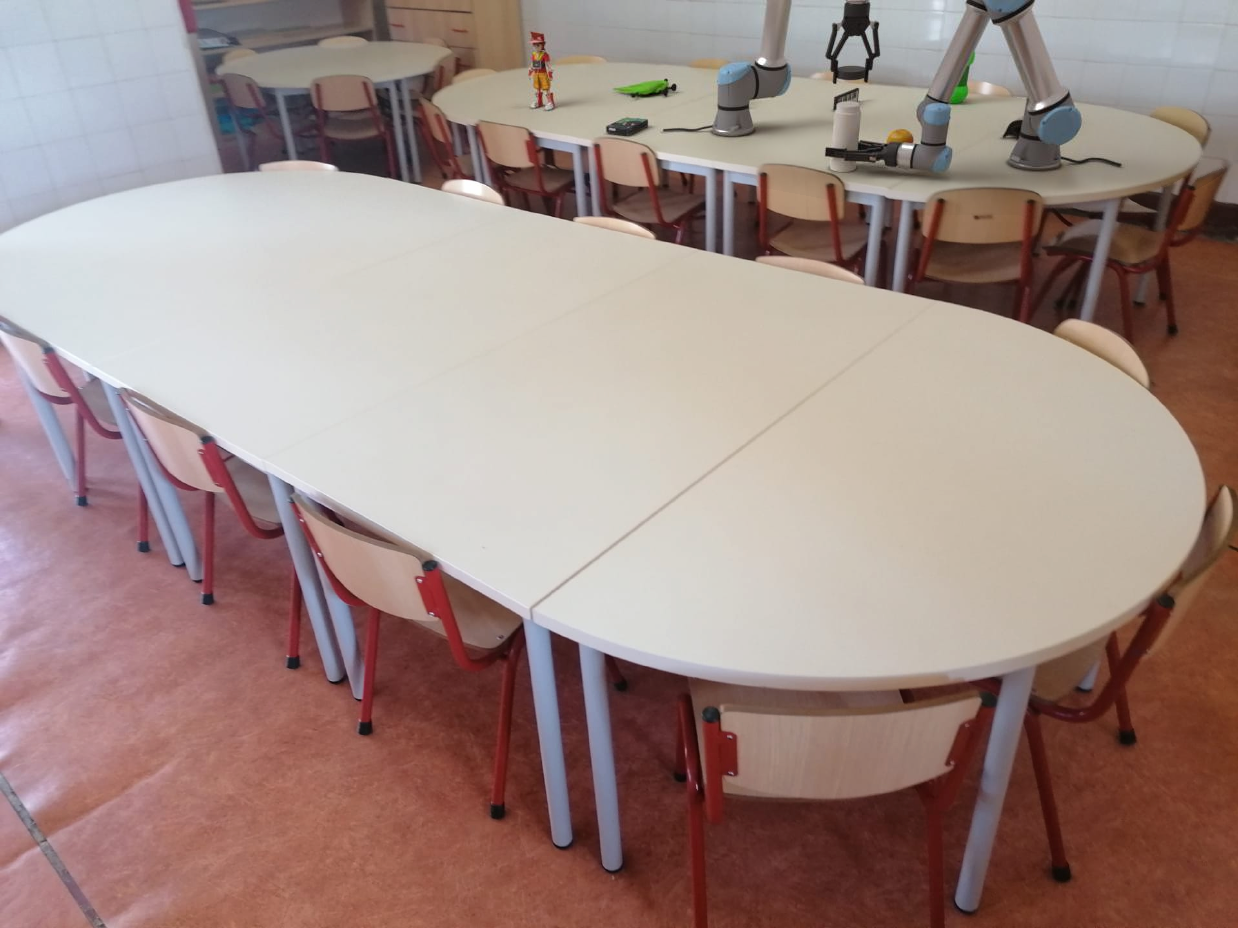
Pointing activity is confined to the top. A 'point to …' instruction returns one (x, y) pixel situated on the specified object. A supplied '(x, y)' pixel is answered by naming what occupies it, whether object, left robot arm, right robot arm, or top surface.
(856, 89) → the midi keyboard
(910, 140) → the fruit
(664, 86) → the toy
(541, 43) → the toy
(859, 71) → the lid
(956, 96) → the plastic bottle
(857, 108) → the jar
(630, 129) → the disk drive
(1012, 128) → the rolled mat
